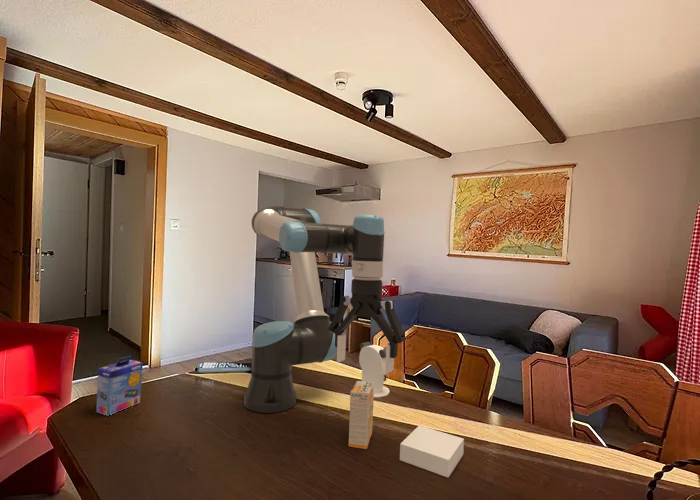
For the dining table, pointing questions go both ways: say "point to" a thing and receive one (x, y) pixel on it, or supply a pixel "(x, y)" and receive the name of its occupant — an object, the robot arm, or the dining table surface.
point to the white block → (432, 450)
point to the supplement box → (361, 414)
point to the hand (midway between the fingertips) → (364, 365)
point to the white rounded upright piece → (374, 367)
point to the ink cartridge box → (118, 386)
